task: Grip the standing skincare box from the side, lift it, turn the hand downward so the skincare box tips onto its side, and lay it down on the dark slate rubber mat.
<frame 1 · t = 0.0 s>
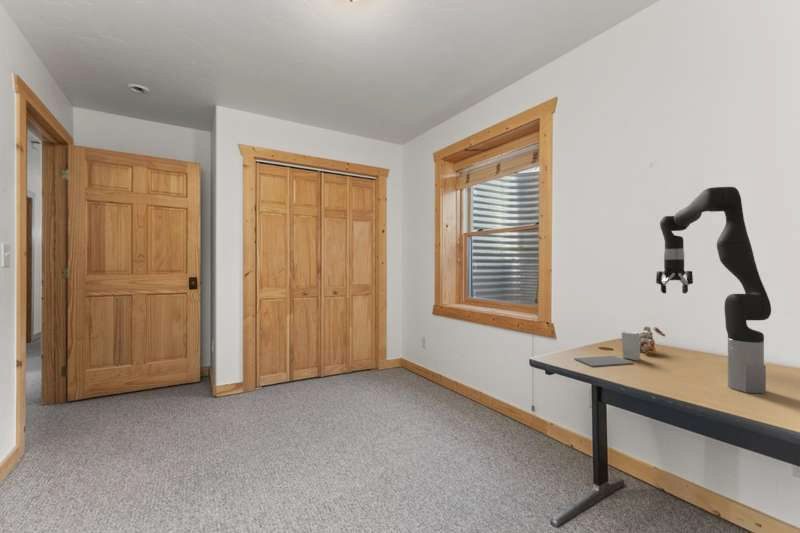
hand: (674, 293, 172), 29 cm above the table, tool pointing down, fingers open, 8 cm apart
slate mat: (603, 361, 165), on the table
skincare box: (630, 359, 169), on the table
voxel character: (651, 352, 179), on the table
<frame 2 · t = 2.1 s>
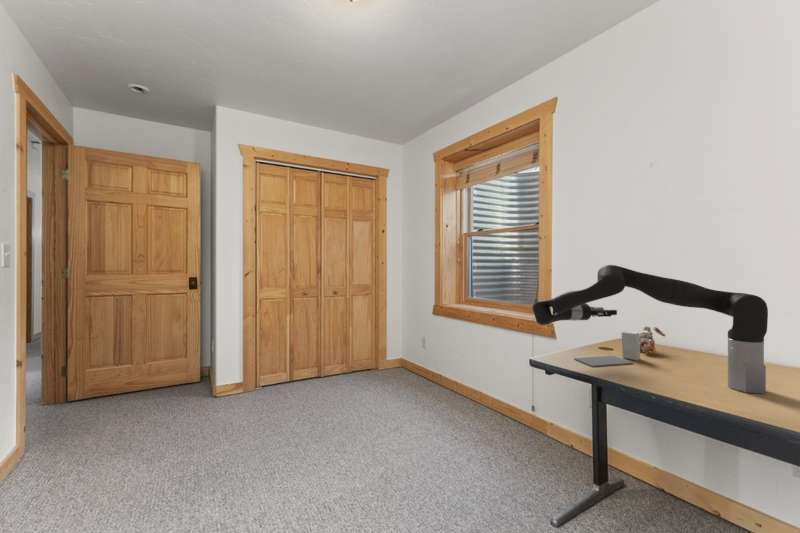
hand: (609, 311, 167), 22 cm above the table, tool horizontal, fingers open, 8 cm apart
nothing on the table moved.
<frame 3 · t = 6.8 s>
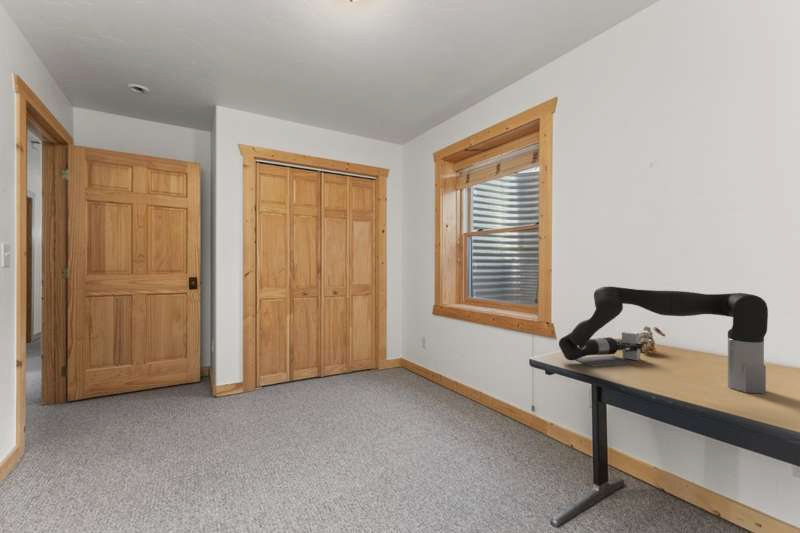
hand: (634, 344, 169), 7 cm above the table, tool horizontal, fingers closed on skincare box, 7 cm apart
skincare box: (630, 359, 169), on the table, touching gripper
everything else where it was.
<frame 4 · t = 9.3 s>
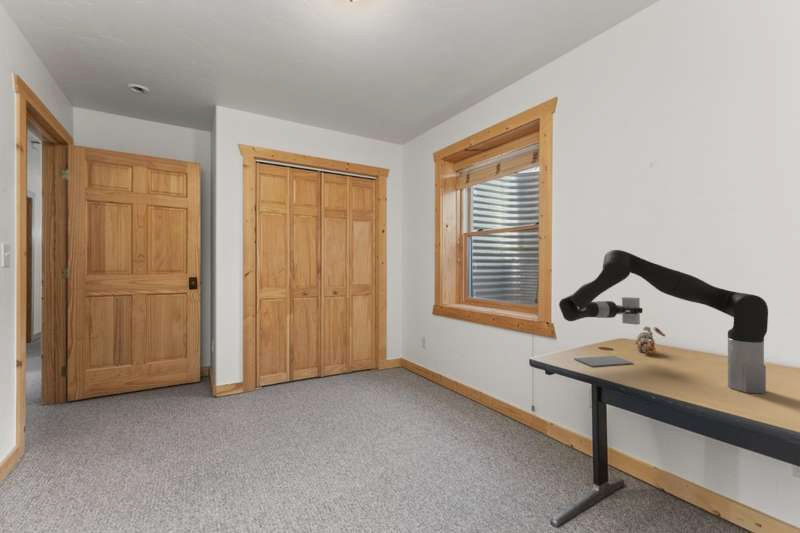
hand: (635, 309, 169), 22 cm above the table, tool horizontal, fingers closed on skincare box, 7 cm apart
skincare box: (630, 324, 169), point 16 cm above the table, touching gripper
everything else where it was.
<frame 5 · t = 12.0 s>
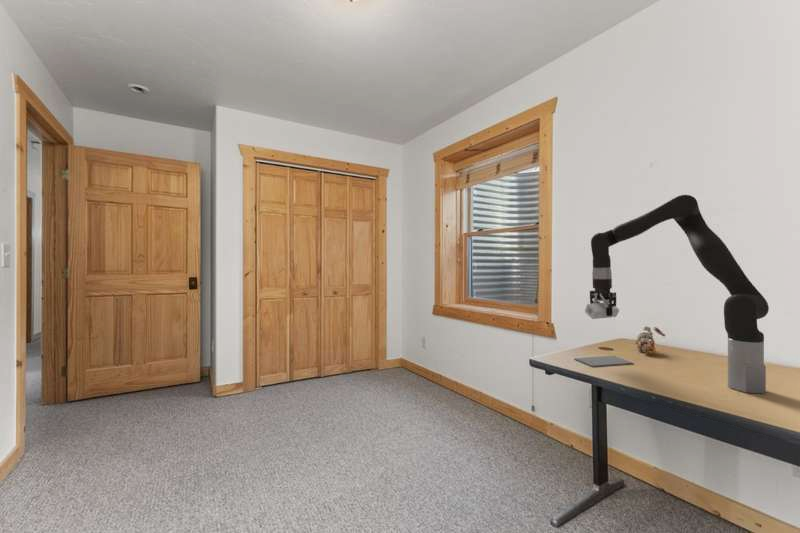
hand: (603, 314, 164), 21 cm above the table, tool pointing down, fingers closed on skincare box, 7 cm apart
skincare box: (589, 311, 163), point 23 cm above the table, touching gripper
everything else where it was.
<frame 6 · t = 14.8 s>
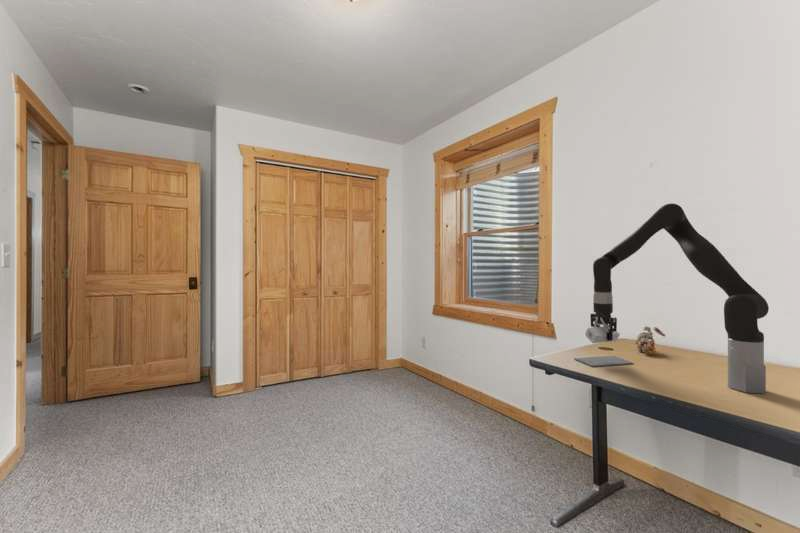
hand: (603, 338, 165), 10 cm above the table, tool pointing down, fingers closed on skincare box, 7 cm apart
skincare box: (589, 335, 164), point 12 cm above the table, touching gripper
everything else where it was.
when the fingers open (4 cm above the table, at t = 17.2 s): skincare box drops 3 cm, resting on slate mat.
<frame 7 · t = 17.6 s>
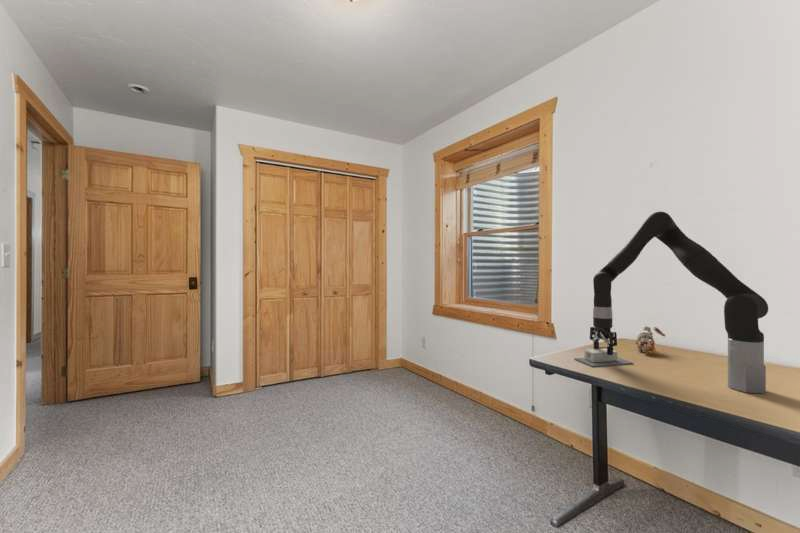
hand: (602, 352, 165), 4 cm above the table, tool pointing down, fingers open, 8 cm apart
skincare box: (588, 355, 165), point 3 cm above the table, touching gripper, slate mat
everything else where it was.
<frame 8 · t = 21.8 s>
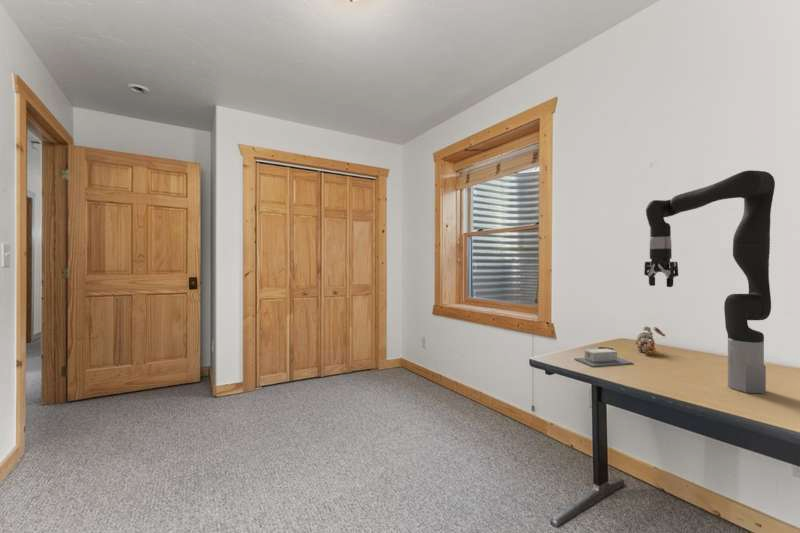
hand: (660, 286, 155), 34 cm above the table, tool pointing down, fingers open, 8 cm apart
skincare box: (587, 355, 165), point 3 cm above the table, touching slate mat
everything else where it was.
at the end: skincare box tilted 92°; skincare box 6.7 cm from the slate mat (horizontally); skincare box touching slate mat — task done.
